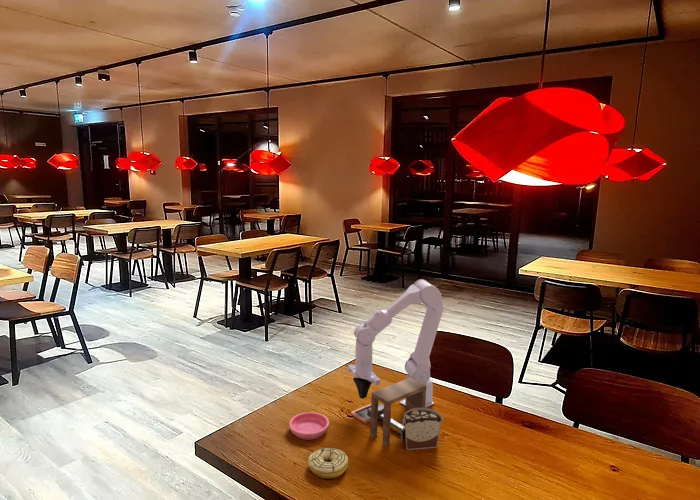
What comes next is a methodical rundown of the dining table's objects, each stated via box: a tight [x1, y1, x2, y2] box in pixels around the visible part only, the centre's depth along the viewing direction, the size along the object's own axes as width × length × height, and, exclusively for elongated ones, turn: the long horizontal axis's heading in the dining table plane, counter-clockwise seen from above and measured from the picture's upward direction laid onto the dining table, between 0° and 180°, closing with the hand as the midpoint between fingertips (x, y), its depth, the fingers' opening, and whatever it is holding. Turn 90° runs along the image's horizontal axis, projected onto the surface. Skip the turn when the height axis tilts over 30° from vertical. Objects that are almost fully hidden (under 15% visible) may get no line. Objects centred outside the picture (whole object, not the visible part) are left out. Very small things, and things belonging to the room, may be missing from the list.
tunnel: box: [369, 378, 427, 447], centre depth 138 cm, size 17×7×14 cm, turn 129°
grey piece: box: [367, 403, 406, 442], centre depth 140 cm, size 8×17×4 cm, turn 39°
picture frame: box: [350, 403, 380, 425], centre depth 149 cm, size 11×8×1 cm
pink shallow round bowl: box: [288, 411, 330, 441], centre depth 138 cm, size 12×12×3 cm
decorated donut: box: [307, 447, 349, 480], centre depth 120 cm, size 10×11×4 cm
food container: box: [401, 407, 444, 451], centre depth 132 cm, size 12×6×10 cm, turn 100°
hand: (363, 397), depth 151 cm, fingers closed
